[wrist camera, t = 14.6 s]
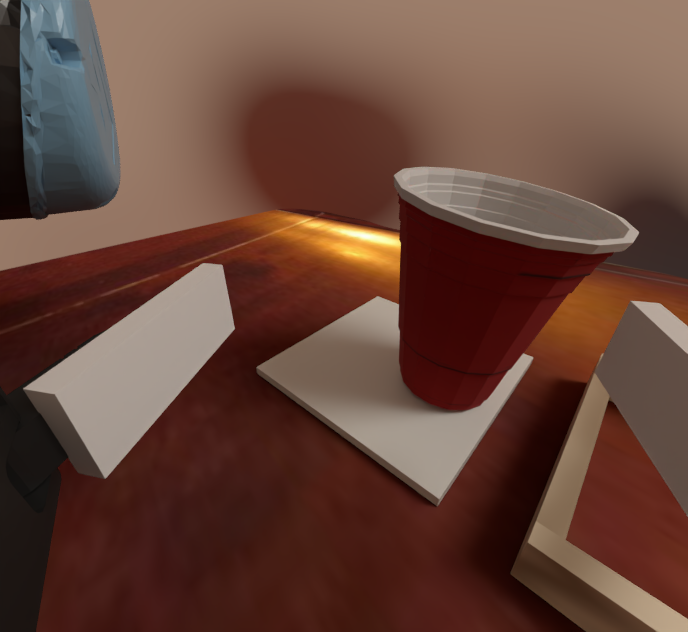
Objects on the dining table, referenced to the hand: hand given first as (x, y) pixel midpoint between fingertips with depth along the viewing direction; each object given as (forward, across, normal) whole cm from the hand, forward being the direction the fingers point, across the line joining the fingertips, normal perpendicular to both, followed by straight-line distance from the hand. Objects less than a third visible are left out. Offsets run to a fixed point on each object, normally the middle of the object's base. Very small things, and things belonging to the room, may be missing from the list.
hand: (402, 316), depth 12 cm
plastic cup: (+8, +3, -9) cm, 12 cm away
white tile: (+9, 0, -10) cm, 13 cm away
